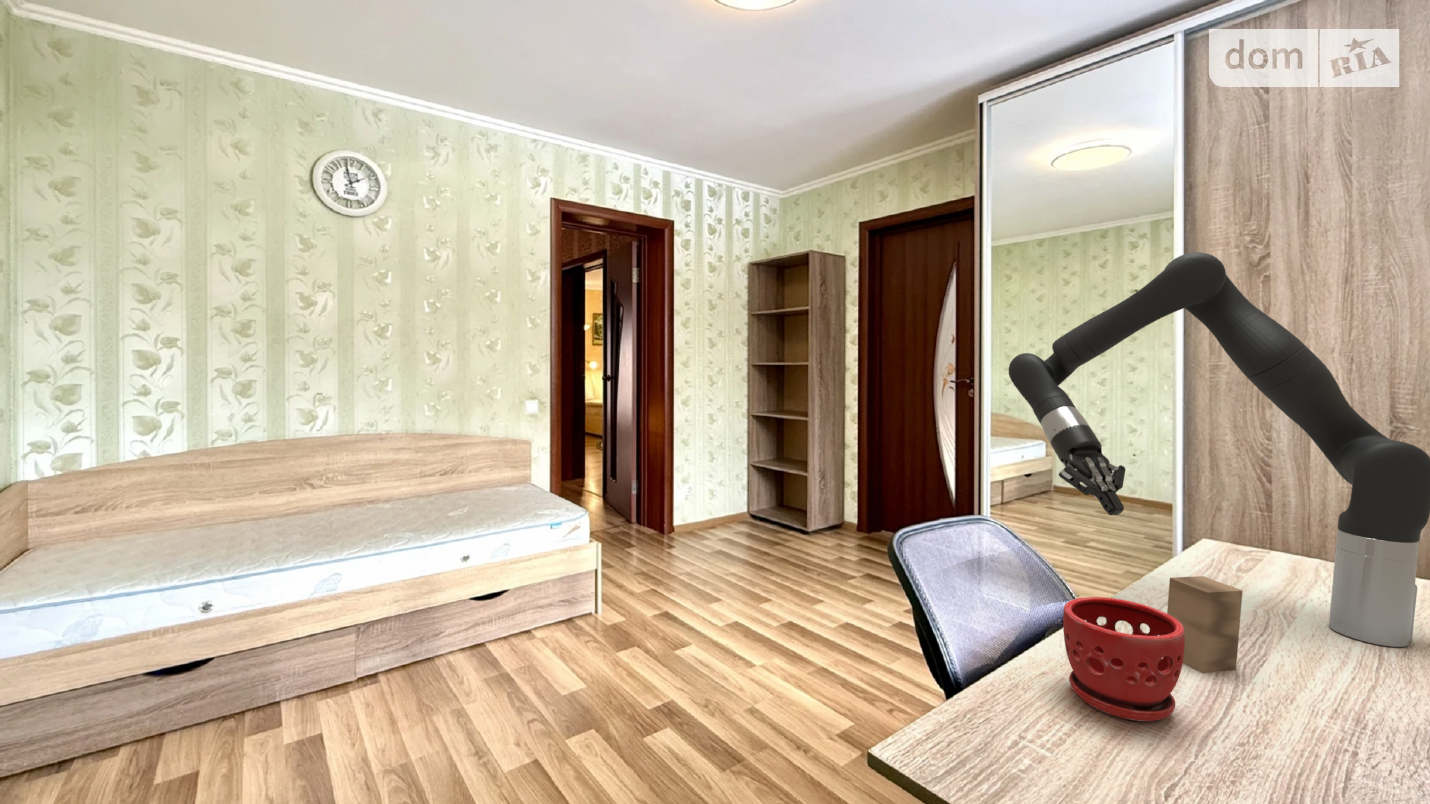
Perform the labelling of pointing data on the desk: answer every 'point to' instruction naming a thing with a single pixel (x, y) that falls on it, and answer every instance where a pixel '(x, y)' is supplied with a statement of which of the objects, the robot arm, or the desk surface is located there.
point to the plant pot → (1123, 657)
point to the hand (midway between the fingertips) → (1117, 512)
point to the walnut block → (1207, 621)
